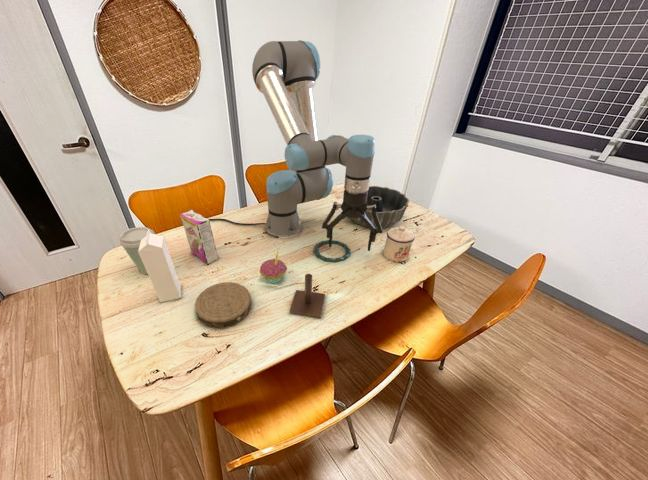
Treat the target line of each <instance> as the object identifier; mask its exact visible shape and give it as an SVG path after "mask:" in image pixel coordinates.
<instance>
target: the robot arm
mask: <svg viewBox="0 0 648 480" xmlns="http://www.w3.org/2000/svg"><path fill="white" fill-rule="evenodd" d="M251 67H252V68H251V73H252V79H253V82H254V85H255V86H256V89H257V90H258V91H259V92H260V93H261V94H262V95H263V96H264V98H265V100H266V103H267V105H268V107H269V110H270V112H271V114H272V116H273V118H274V120H275V123H276V125H277V127H278V129H279V132H280V133H281V136H282V137H283V140H284V142H285V144H286V147H285V149H284V160H285V165H286V166H287V168H288V169H286V170H285V169H282V170H278V171H277V170H276V171H275V172H272V173H271V174H269V176H267V178H266V187H265V190H266V198H267V210H268V211H267V213H268V214H267V216H266V221H265V222H256V223H255V222H254V223H245V222H243V223H242V222H235V221H232V220H229V219H227V218H207V219H208V220H209V221H224V222H228V223H230V224H233V225H237V226H263V225H265V226H264V227H265V228H264V229H265V232H266V234H267V235H269V236H271V237H274V238H276V239H277V238H278V239H280V238H281V237H282V238H283V237H284V238H285V237H290V236H295V235H296V234H298V233H299V232H301V230H302V219H301V218H300V216H299V213H298V205H300V204H304V203H310V202H313V201H320V200H322V199H326V198H327V197H329V196H330V194H331V193H332V190H333V186H334V178H333V173H332V171H331V170H330V169H329V168H327V166H330V165H331V166H332V165H336V164H339V165H341V166H343V167H345V175H344V186H343V188H344V189H343V197H342V203H338V202H337V201H333V202H332V203H333V204H332V208H331V210H330V211H329V212H328V214H327V216H326V217H325V219H324V220H323V222H322V225H321V229H323V230H326V238H327V239H328V240H329V244H328V248H332V245H333V244H332V240H333V234H334V232H333V231H334V227H336V225H338V224H339V223H340V222H341V221H342V220H344V219H346V217H347V218H348V219H350V218H355V219H358V218H359V217H360V218H361V220H362V221H363V222H364V223H365V224H366V225H367V226H366V228H368V229H369V238H368V244H367V252H371V247H372V243H375V242H376V239H377V238H376V237H377V235H378V234H380V235H381V234H383V228H382V226H381V224H380V221H379V218H378V216H377V213H376V205H375V204H373V205H372V206H367V197H368V190H369V186H370V183H371V177H372V176H371V175H372V169H373V163H374V156H375V153H376V152H375V149H376V148H375V147H376V139H375V137H374V136H372V135H370V134H369V135H368V134H353V135H351V136H350V137H349V138H347V137H344V136H343V135H340V134H339V135H337V134H331V135H328V137H326V138H325V139H319V134H318V126H317V118H316V110H315V109H316V108H315V103H314V102H315V101H314V93H313V91H314V88H315V86H316V84H317V81H316V80H318V78H319V76H320V74H321V71H320V69H321V58H320V54H319V50H318V49H317V47H316V45H315V44H314V43H313V42H311V41H306V40H301V39H300V40H281V41H280V40H279V41H277V40H271V41H267V42H266V43H264V44H263V45H261V46H260V47H259V48H258V50H257V51H256V53H255V55H254V58H253V61H252V66H251ZM340 209H341V212H340V214H338V215H337V216H336V217H335V218H334V219H333V220H332V221H331V219H332V218H333V217H334V215H335V213H336V211H338V210H340ZM367 210H369V212H370V213H372V216H373V219H374V221H375V224H376V227H377V228H375V227H374V225H373V224H372V223H371V221H370V220H369V219H368V217H367V216H366V214H365V212H366V211H367Z"/></svg>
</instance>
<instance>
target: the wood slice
mask: <svg viewBox="0 0 648 480" xmlns="http://www.w3.org/2000/svg"><path fill="white" fill-rule="evenodd" d="M194 310H195V313H196V316H197V319H198V320H199V322H200V323H201V324H202V325H204V326H206V327H207V328H212V329H227V328H230V327H234V326H236V325H237V324H239V323H241V322H243V321H244V320H245V319H246V318H247V317H248V316H249V314H250V312H251V310H252V297H251V294H250V291H249V290H248V288H246V286H244V285H243V284H240V283H238V282H232V281H229V282H228V281H227V282H226V281H225V282H224V281H223V282H218V283H216V284H213V285H210V286H209V287H207V288H205V289H204V290H203V291H201V292H200V293H199V295H198V296H197V297H196V299H195V302H194Z"/></svg>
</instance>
